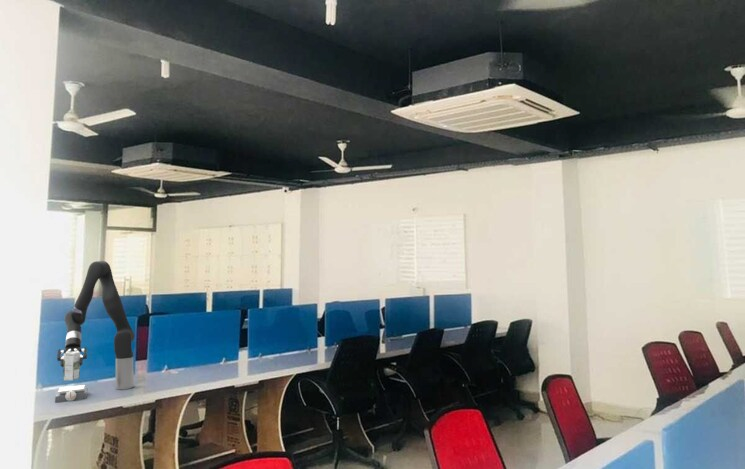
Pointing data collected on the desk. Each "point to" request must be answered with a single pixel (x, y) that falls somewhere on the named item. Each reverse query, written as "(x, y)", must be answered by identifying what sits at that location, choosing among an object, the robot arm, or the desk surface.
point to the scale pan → (71, 388)
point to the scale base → (71, 396)
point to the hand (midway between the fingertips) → (71, 365)
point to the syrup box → (71, 365)
